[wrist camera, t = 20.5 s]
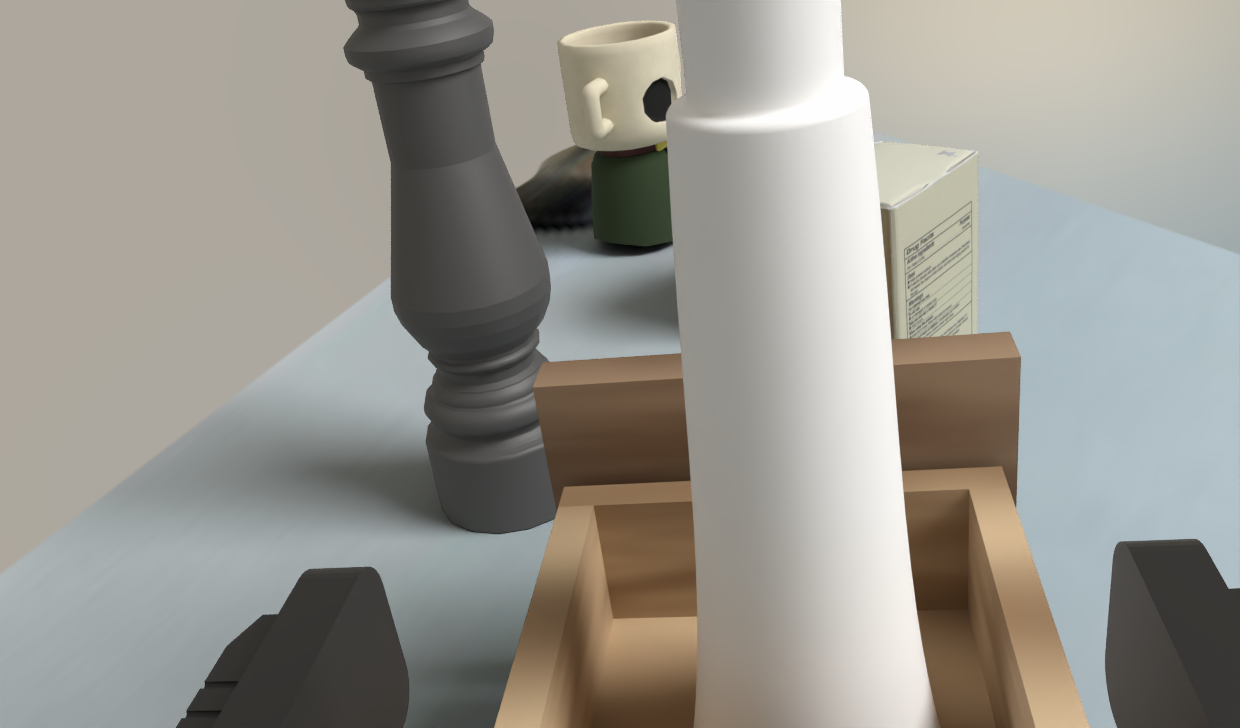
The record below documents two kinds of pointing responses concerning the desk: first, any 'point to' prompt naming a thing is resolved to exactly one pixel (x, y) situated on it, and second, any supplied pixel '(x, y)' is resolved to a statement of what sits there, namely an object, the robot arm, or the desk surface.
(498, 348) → the candle holder
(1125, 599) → the robot arm
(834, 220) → the cosmetic bottle
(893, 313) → the skincare box
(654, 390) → the wooden box caddy
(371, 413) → the desk surface
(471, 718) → the desk surface
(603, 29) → the character mug
